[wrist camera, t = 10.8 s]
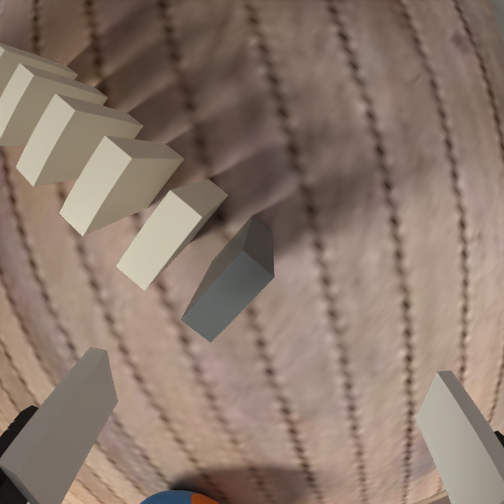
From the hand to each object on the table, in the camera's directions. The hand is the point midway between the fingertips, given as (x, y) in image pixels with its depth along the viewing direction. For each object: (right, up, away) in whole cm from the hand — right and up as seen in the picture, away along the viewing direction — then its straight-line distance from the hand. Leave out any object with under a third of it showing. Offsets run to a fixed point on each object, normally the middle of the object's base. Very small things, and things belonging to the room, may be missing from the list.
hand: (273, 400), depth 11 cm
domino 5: (-5, +9, +14) cm, 17 cm away
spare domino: (-2, +6, +14) cm, 16 cm away
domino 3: (-12, +14, +12) cm, 22 cm away
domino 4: (-8, +12, +13) cm, 19 cm away
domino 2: (-15, +17, +12) cm, 26 cm away
